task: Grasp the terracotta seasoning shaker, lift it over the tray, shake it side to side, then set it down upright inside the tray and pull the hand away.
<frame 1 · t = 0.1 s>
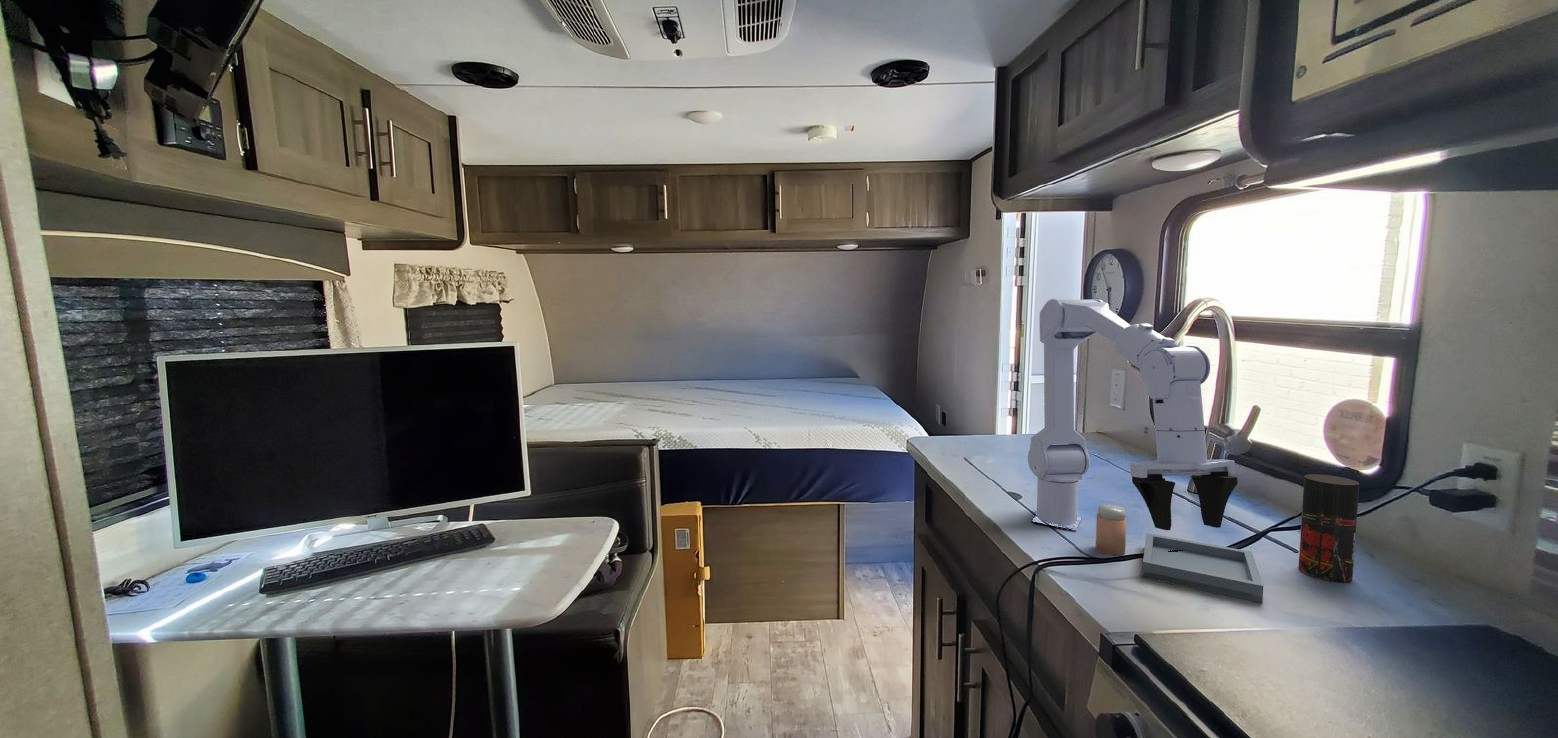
hand: (1187, 527, 77), 11 cm above the worktop, tool pointing down, fingers open, 7 cm apart
shaker: (1110, 550, 95), on the worktop
deodorant: (1324, 575, 85), on the worktop
tray: (1197, 571, 86), on the worktop
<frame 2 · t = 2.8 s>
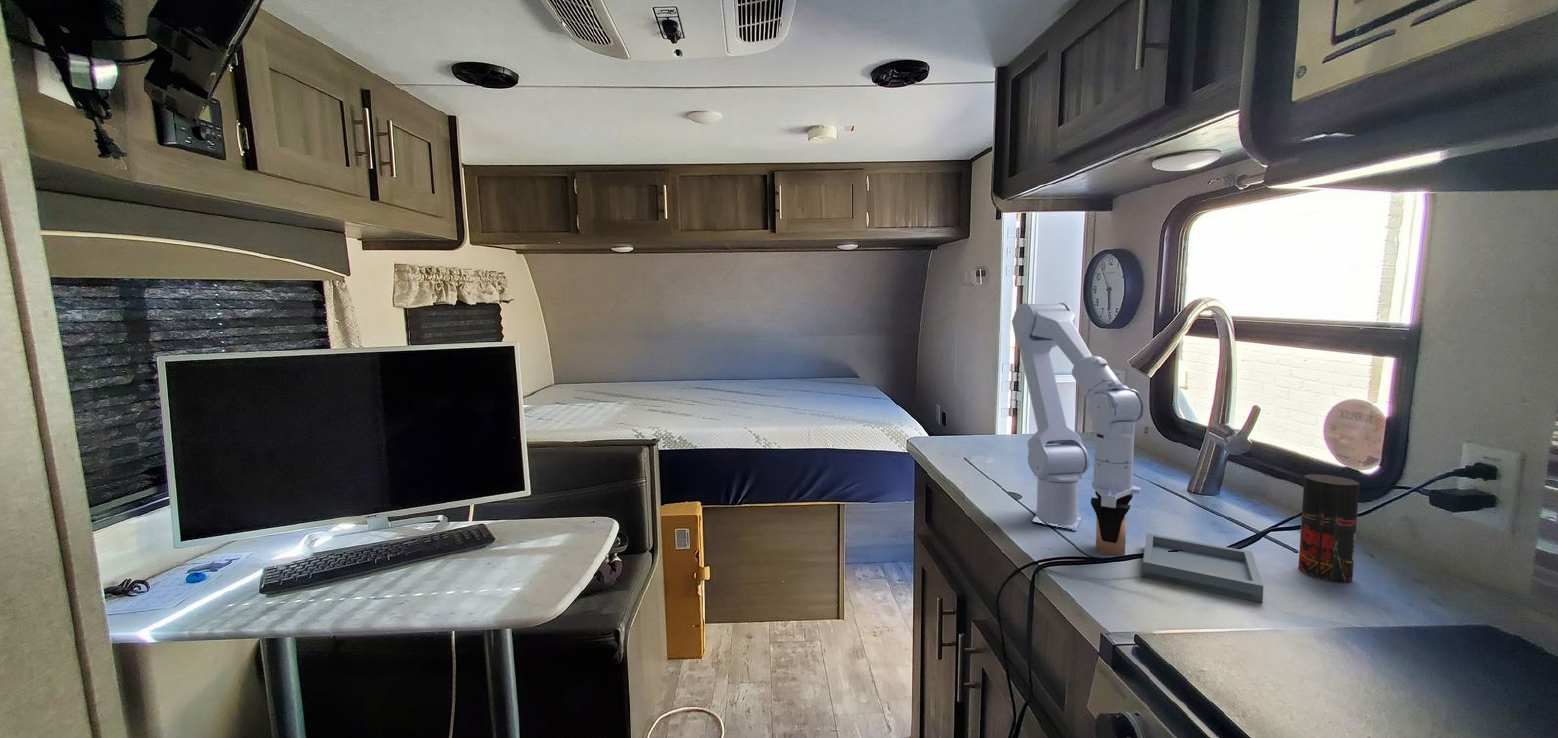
hand: (1110, 536, 94), 2 cm above the worktop, tool pointing down, fingers closed on shaker, 4 cm apart
shaker: (1110, 550, 95), on the worktop, touching gripper
everything else where it was.
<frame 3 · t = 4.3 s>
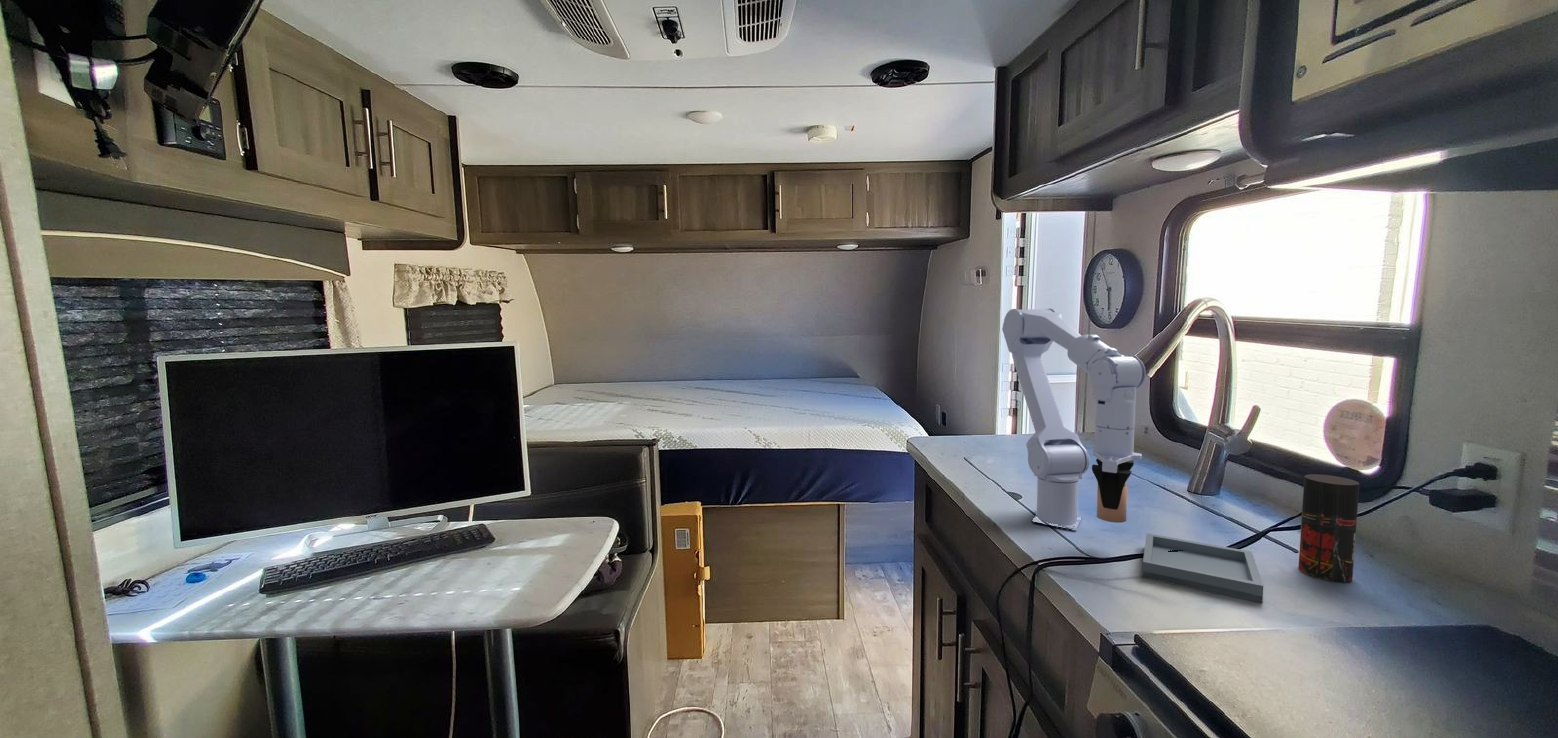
hand: (1111, 504, 94), 8 cm above the worktop, tool pointing down, fingers closed on shaker, 4 cm apart
shaker: (1111, 517, 94), point 6 cm above the worktop, touching gripper
everything else where it was.
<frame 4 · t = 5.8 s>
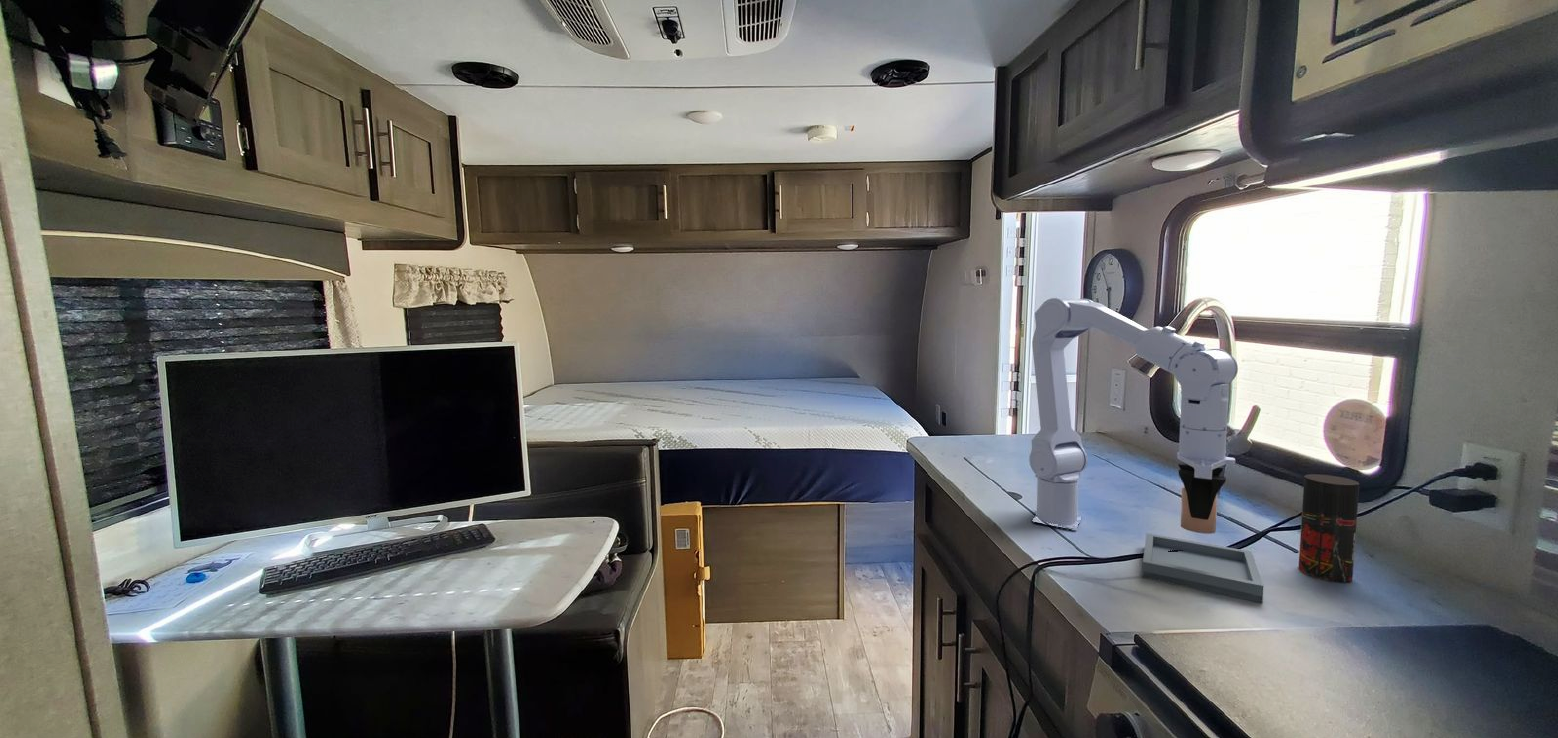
hand: (1198, 513, 85), 9 cm above the worktop, tool pointing down, fingers closed on shaker, 4 cm apart
shaker: (1197, 528, 86), point 7 cm above the worktop, touching gripper
everything else where it was.
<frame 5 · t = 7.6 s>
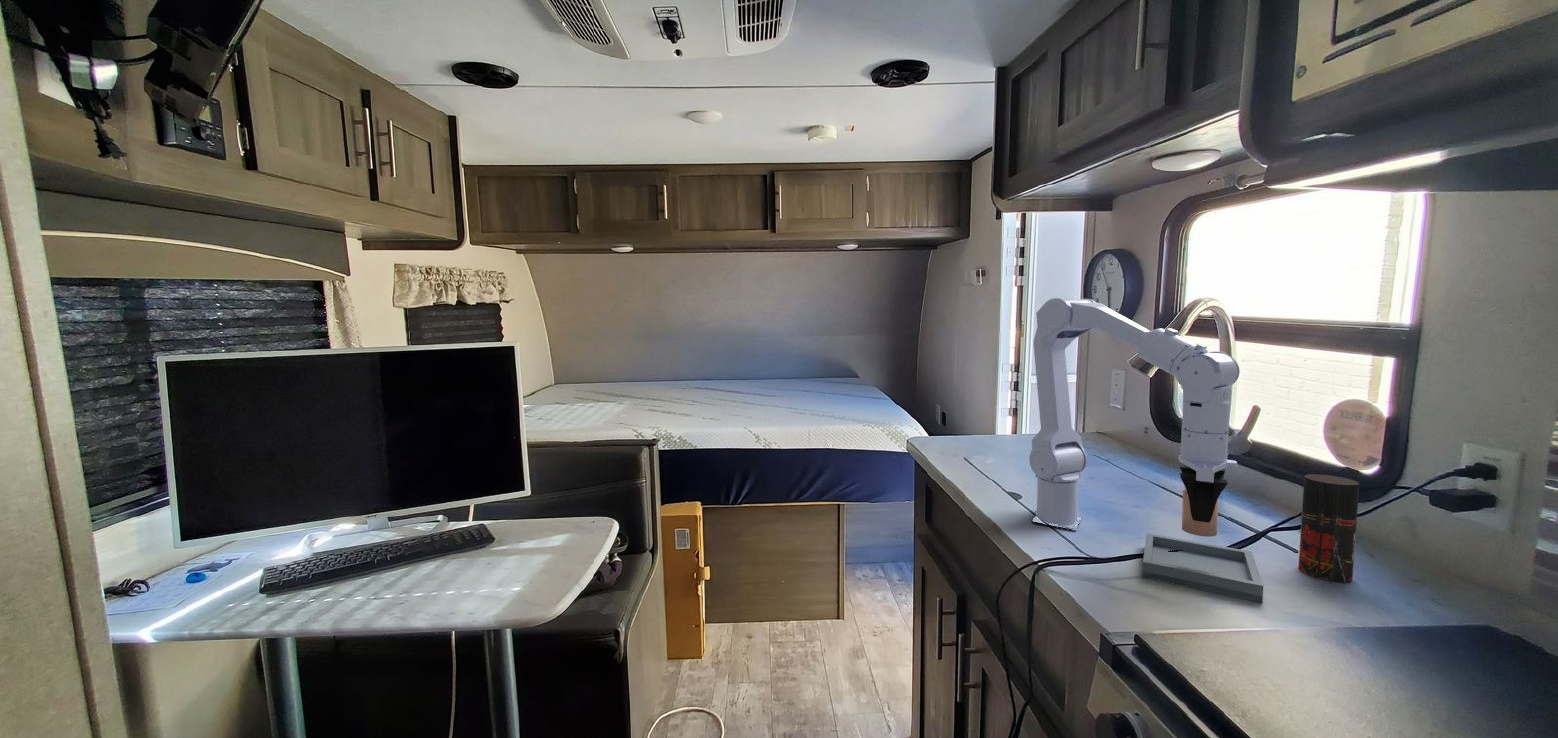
hand: (1200, 516, 85), 9 cm above the worktop, tool pointing down, fingers closed on shaker, 4 cm apart
shaker: (1199, 531, 86), point 7 cm above the worktop, touching gripper
everything else where it was.
when the fingers open (4 cm above the worktop, at t = 9.0 s): shaker stays where it is, resting on tray.
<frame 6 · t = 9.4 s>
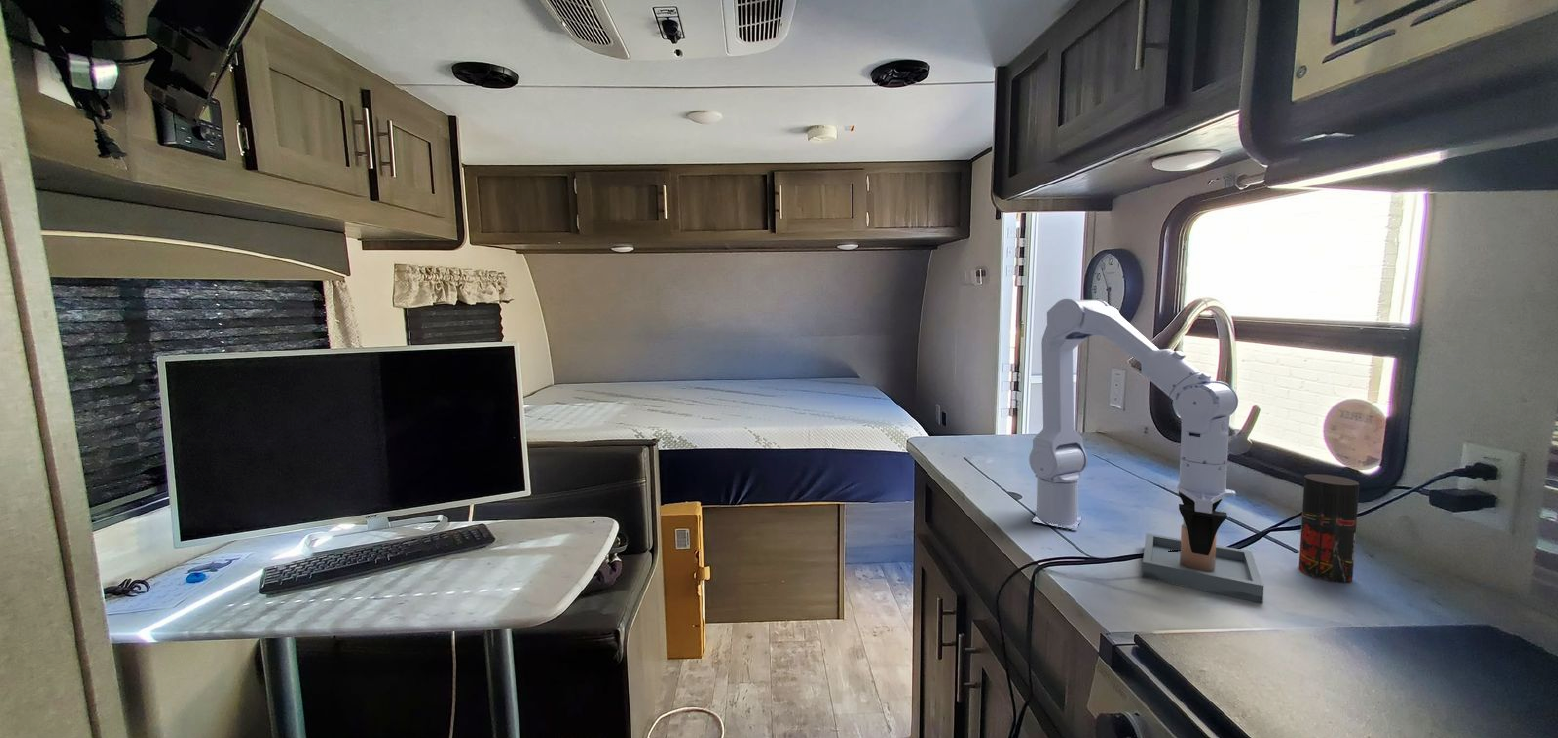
hand: (1198, 544, 86), 4 cm above the worktop, tool pointing down, fingers open, 7 cm apart
shaker: (1197, 565, 86), point 1 cm above the worktop, touching tray
everything else where it was.
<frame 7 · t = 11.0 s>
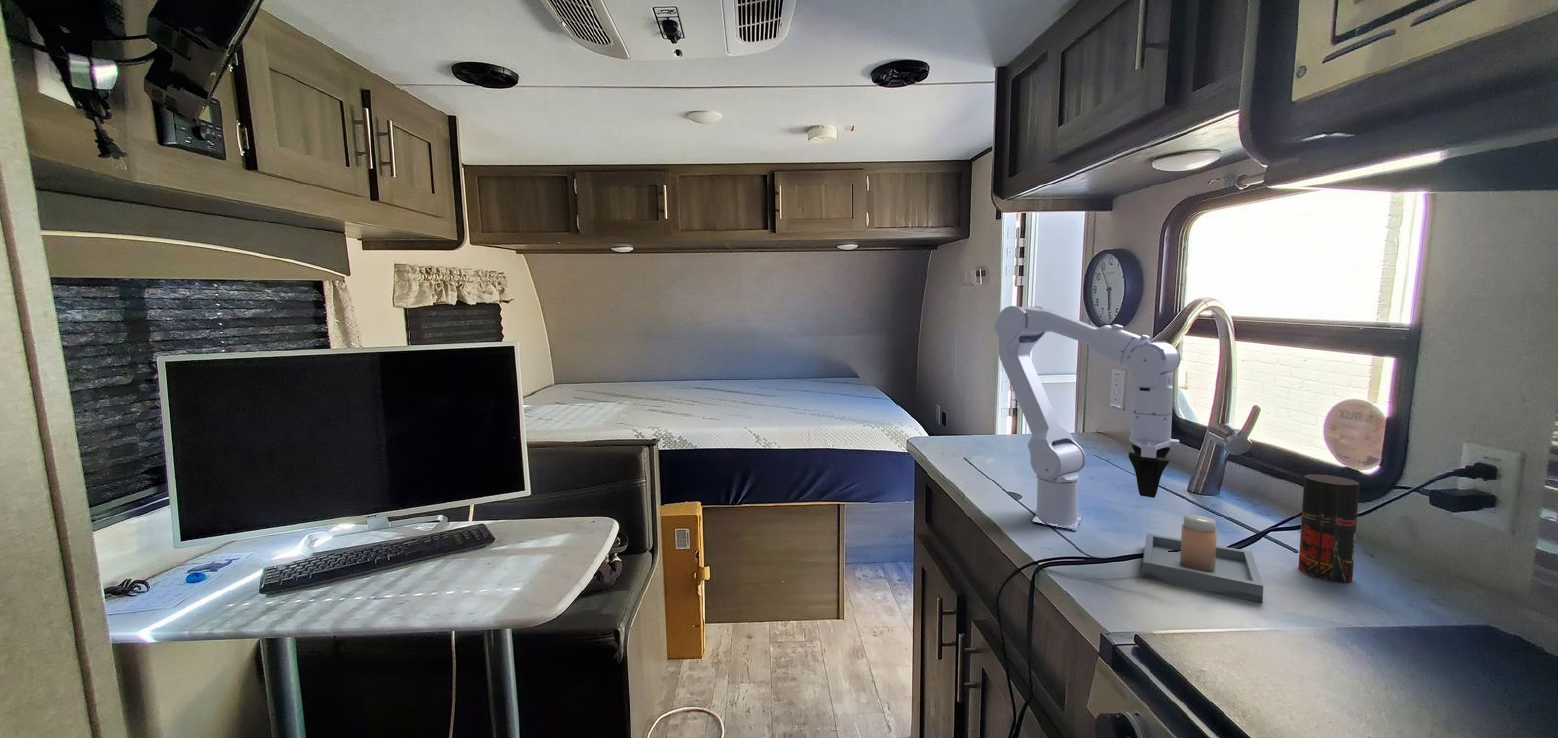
hand: (1148, 490, 94), 10 cm above the worktop, tool pointing down, fingers open, 7 cm apart
nothing on the worktop moved.
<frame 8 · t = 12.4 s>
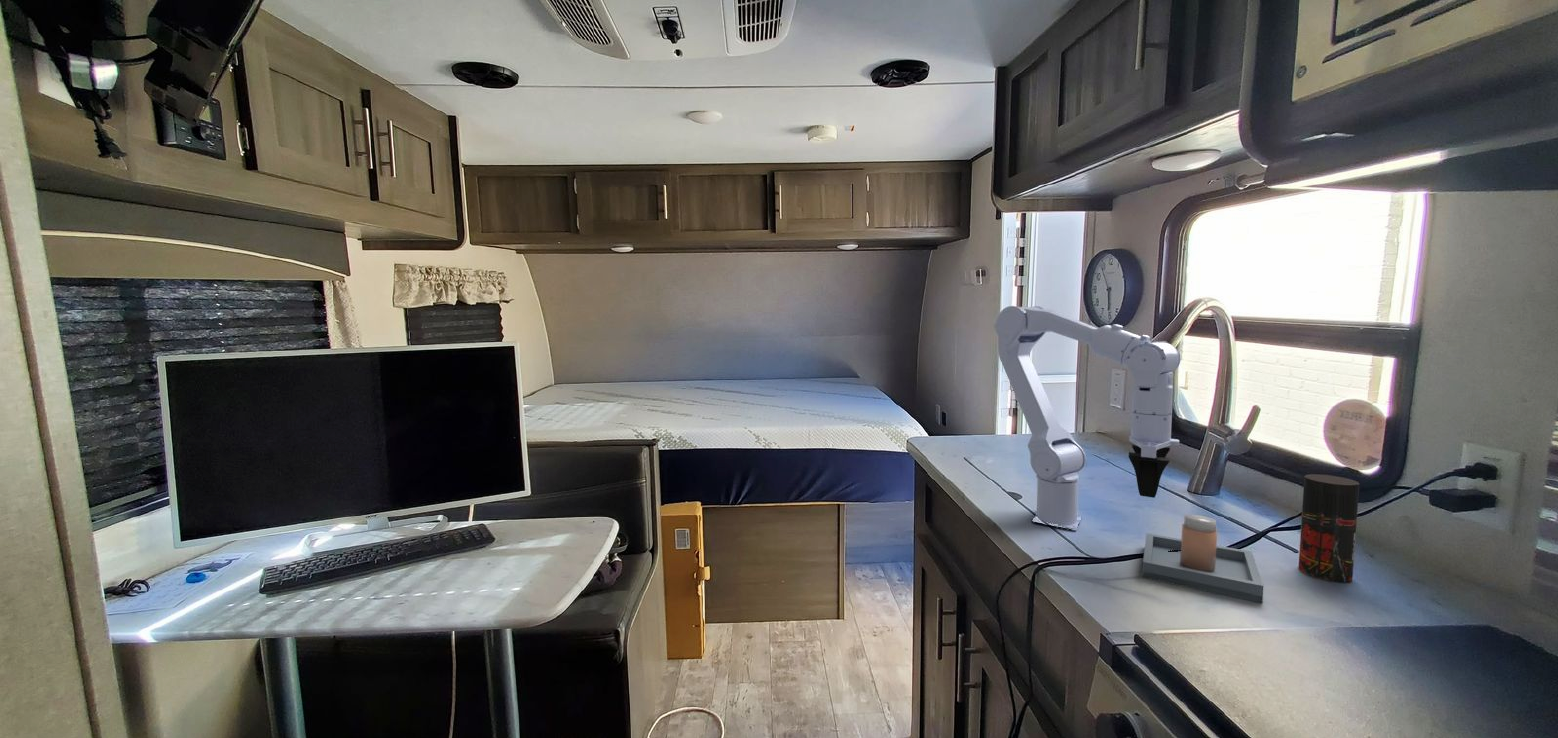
hand: (1148, 490, 94), 10 cm above the worktop, tool pointing down, fingers open, 7 cm apart
nothing on the worktop moved.
at the end: shaker inside the target area on the tray (0.1 cm from its centre), point 1.1 cm above the tray's base; shaker tilted 2°; the gripper is holding nothing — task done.
